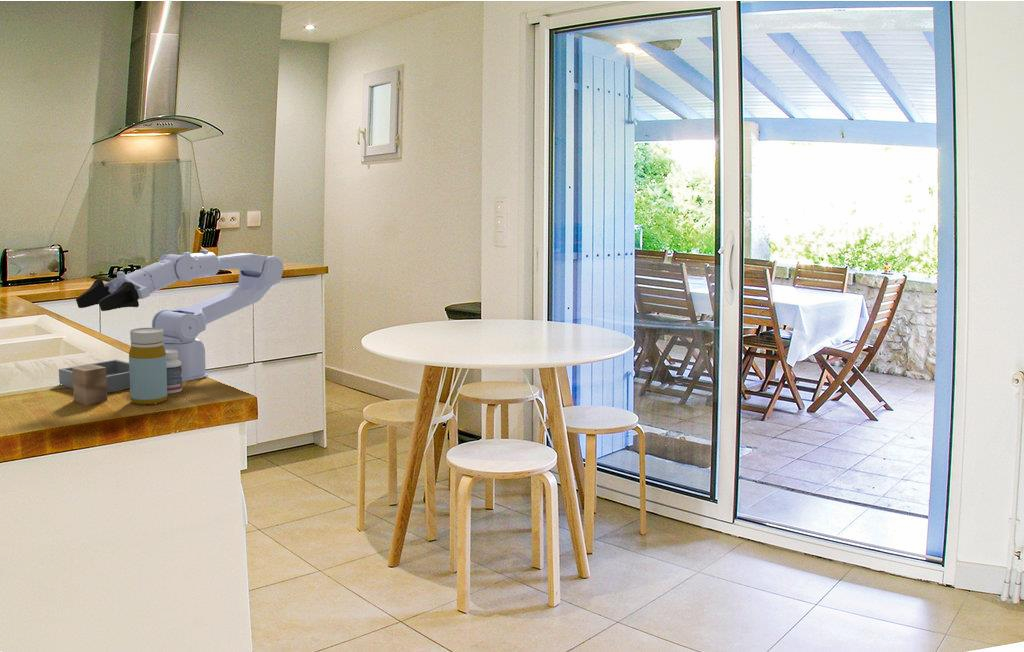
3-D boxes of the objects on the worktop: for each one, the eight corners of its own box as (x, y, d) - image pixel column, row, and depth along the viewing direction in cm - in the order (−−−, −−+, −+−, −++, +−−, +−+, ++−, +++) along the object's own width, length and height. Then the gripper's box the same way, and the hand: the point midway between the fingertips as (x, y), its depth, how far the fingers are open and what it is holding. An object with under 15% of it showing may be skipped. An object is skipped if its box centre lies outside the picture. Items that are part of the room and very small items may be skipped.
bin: (116, 374, 195) (116, 359, 194) (153, 383, 188) (152, 368, 187) (59, 384, 183) (58, 369, 183) (96, 394, 176) (95, 378, 176)
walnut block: (94, 396, 175) (93, 364, 174) (107, 400, 173) (105, 367, 172) (73, 401, 171) (72, 367, 170) (86, 404, 169) (85, 371, 168)
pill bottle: (186, 391, 182) (185, 351, 181) (163, 395, 178) (162, 354, 177) (175, 386, 186) (174, 347, 184) (152, 390, 182) (150, 350, 180)
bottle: (173, 402, 173) (170, 331, 171) (138, 407, 168) (135, 334, 166) (159, 395, 178) (156, 326, 176) (125, 400, 173) (122, 329, 171)
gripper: (117, 262, 184) (61, 284, 174) (160, 266, 177) (104, 289, 167) (127, 292, 187) (73, 315, 177) (170, 297, 180) (115, 321, 169)
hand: (89, 305), depth 172 cm, fingers open, 7 cm apart
